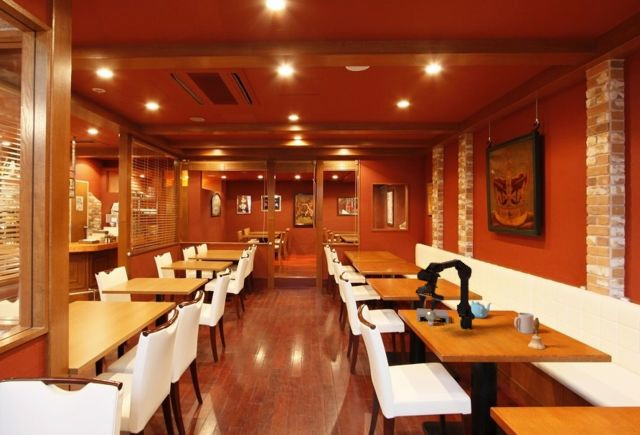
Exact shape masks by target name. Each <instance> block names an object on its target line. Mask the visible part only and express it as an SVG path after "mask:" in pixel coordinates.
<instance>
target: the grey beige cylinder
mask: <svg viewBox="0 0 640 435" xmlns="http://www.w3.org/2000/svg"><path fill="white" fill-rule="evenodd" d="M425 319H426V320H427V325H428V326H430V327H431V326H432V327H433V326H434V324H435V323H434V321H436V320H437V318H436V311H434V310H433V311H431V310H426V317H425Z"/></svg>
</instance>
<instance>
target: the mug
mask: <svg viewBox="0 0 640 435" xmlns="http://www.w3.org/2000/svg"><path fill="white" fill-rule="evenodd" d="M534 320H535V319H534V314H532V313H529V312H518V314H517V316H516V317H515V318H514V327H515V328H516V329H517V332H519V333H521V334H525V335H533V334H534V333H535V327H534Z"/></svg>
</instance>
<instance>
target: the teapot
mask: <svg viewBox="0 0 640 435" xmlns="http://www.w3.org/2000/svg"><path fill="white" fill-rule="evenodd" d="M470 301H471V304H470V306H471V310H472V313H473V314H474V315H475V319H485V318H487V316H488V314H489V312H490V306H491V304H492V302H489V303H487V306H486V307H485V305H484V303H483V304H482V303H480V301H474V300H473V299H470Z"/></svg>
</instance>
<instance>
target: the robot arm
mask: <svg viewBox="0 0 640 435" xmlns="http://www.w3.org/2000/svg"><path fill="white" fill-rule="evenodd" d="M450 268H454V269H455V270H456V271H457V276H458V278H459V280H460V282H459V284H460V285H459V286H460V287H459V289H460V292H459V295H460V296H459V298H460V299H459V300H460V301H459V304H456V311H457V312H456V313H457V314H458V318H460V319H459V326H460V327H461V329H463V330H465V329H466V330H473V329H474V328H473V321H474V320H475V319H476V318H475V315H474V314H473V313H472V310H471V304H470V302H469V301H470V300H469V299H470V298H469V296H470V292H469V291H470V290H469V289H470V288H469V286H470V283H469V280H470V279H471V277H472V273H473V270H472V268H471V266H469V265H468V264H466V263H465V262H463V261H462V260H461V259H457V258H455V259H452V260H448V261H447V260H446V261H442V262H438V261H437V262H429V263H428V265H427V266H426V268H425V269H424V268H421V269H420V270H419V271H418V272H417V273H416V278H417V280H418V281H421V282H426V283H424V285H421V286H418V287H417V288H416V289H415V294H416V295H417V297H418V299H419V305H420V306H419V307H420V308H423V307H424V304H425V302H426V299H427V296H428V297H432V298H431V308H430V309H431V311H433V310H434V309H435V308H437V306H438V305H439V304H440V303H441V302H442V301H444V300H445V297H444V295H441V294H437V292H436V289H438V288H439V286H437V283H438V280H439V278H440V279H441V278H442V276H441V274H440V273H442V272H444V270H446V269H447V270H448V269H450ZM435 310H436V309H435Z"/></svg>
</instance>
